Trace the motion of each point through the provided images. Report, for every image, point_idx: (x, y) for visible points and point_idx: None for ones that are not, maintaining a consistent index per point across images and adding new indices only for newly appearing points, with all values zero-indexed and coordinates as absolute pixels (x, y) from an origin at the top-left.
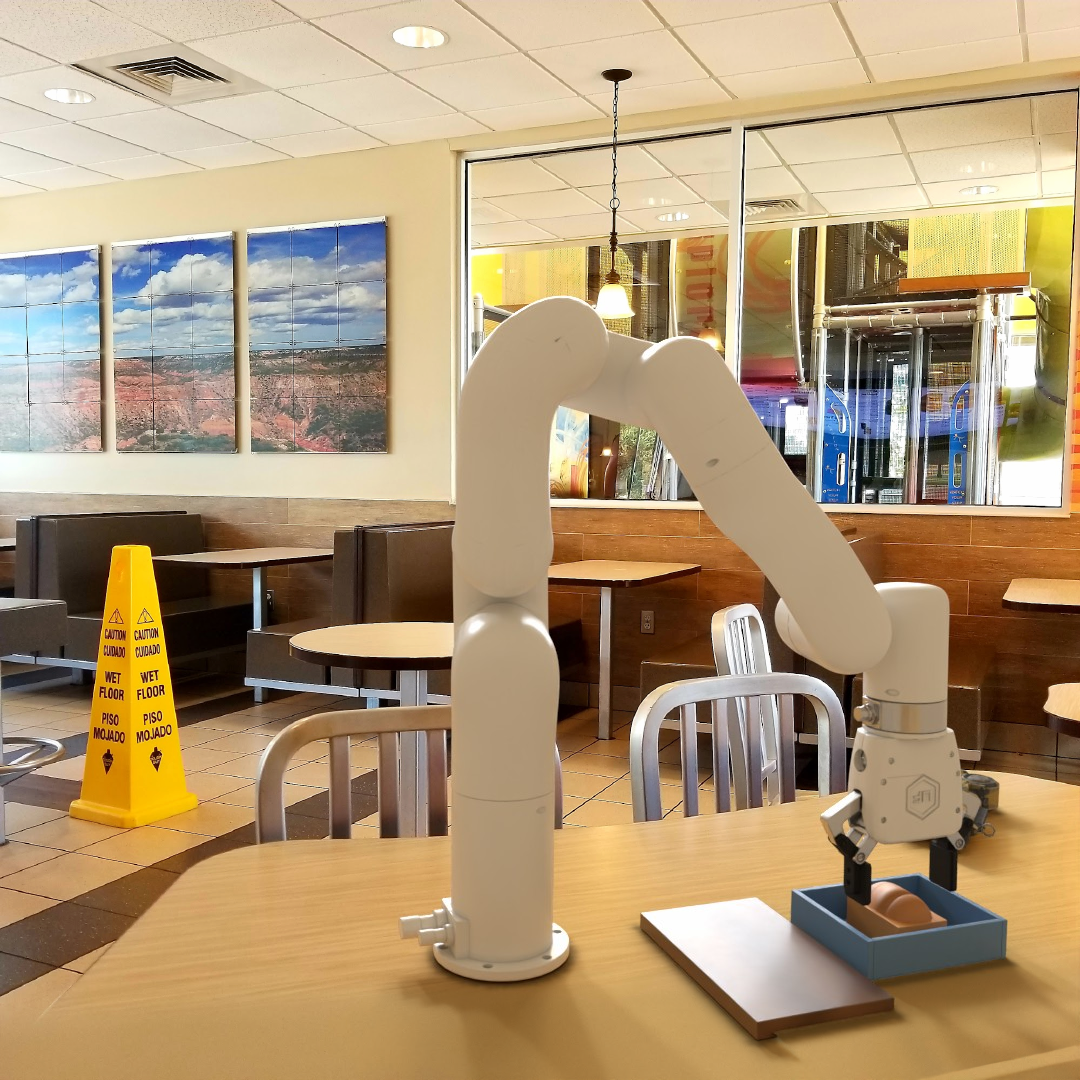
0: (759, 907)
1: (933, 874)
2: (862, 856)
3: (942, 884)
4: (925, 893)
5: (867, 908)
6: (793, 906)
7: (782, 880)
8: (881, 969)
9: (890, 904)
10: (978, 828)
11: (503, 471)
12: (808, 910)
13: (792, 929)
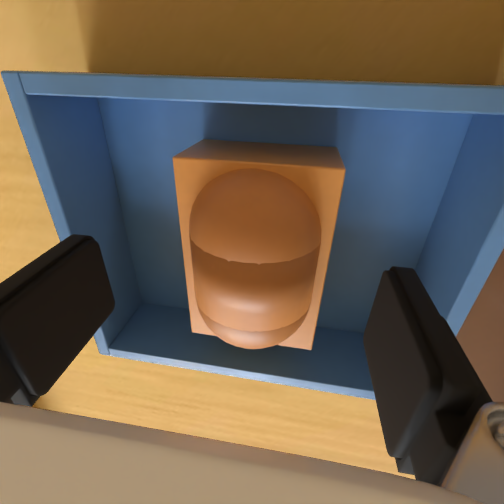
0: None
1: (99, 308)
2: (498, 443)
3: (99, 269)
4: (119, 310)
5: (322, 291)
6: None
7: (271, 429)
8: (466, 84)
9: (304, 255)
10: None
11: None
12: None
13: (464, 321)
